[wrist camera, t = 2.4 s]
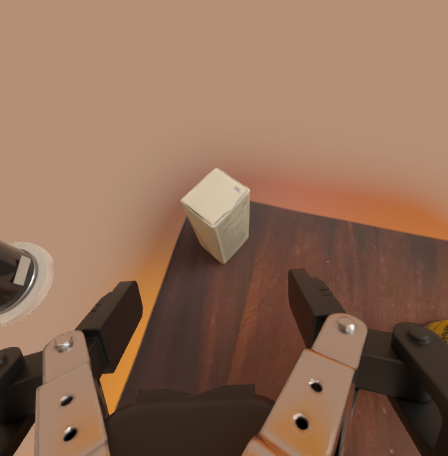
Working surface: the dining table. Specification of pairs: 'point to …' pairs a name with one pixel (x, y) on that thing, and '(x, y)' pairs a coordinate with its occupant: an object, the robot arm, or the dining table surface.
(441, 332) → the pill bottle
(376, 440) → the dining table surface
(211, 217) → the box
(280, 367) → the dining table surface
